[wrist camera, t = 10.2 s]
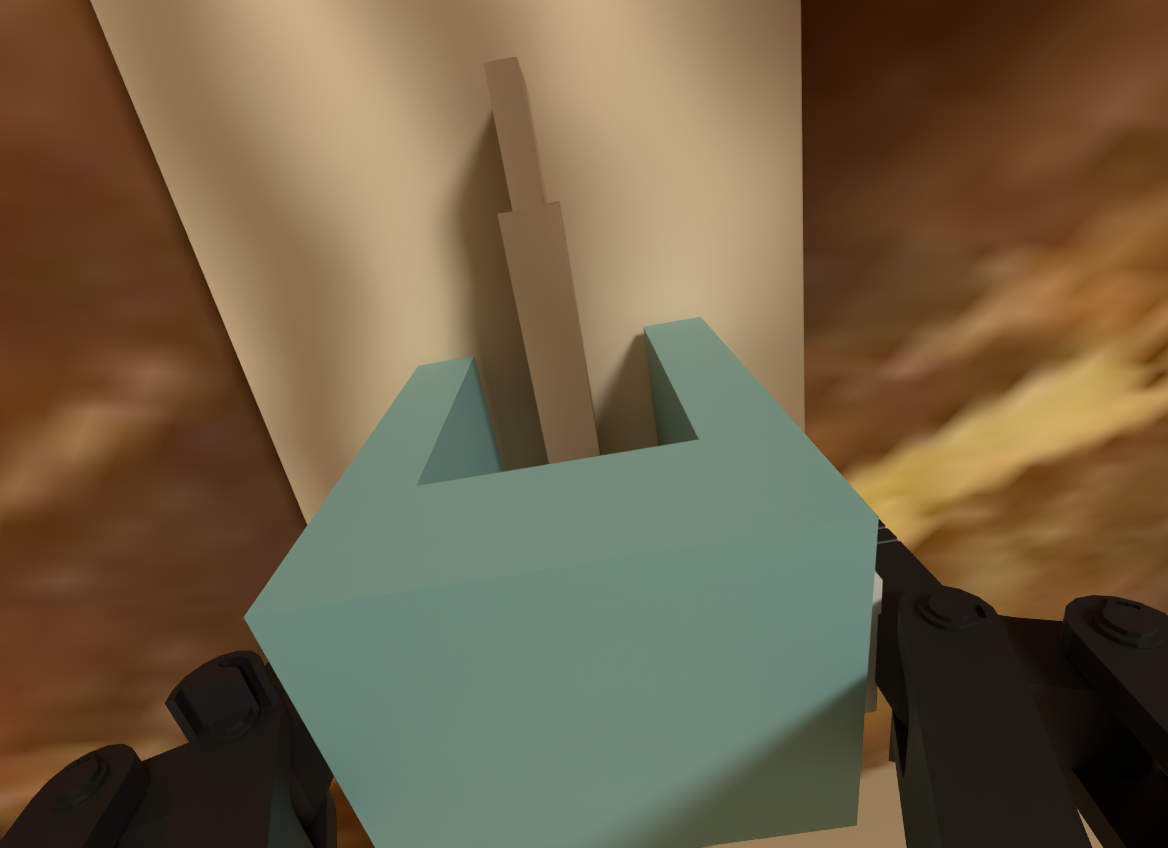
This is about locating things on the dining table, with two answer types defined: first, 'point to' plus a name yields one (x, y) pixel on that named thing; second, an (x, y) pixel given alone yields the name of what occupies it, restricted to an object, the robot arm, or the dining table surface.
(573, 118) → the board
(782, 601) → the bracket
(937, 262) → the dining table surface
